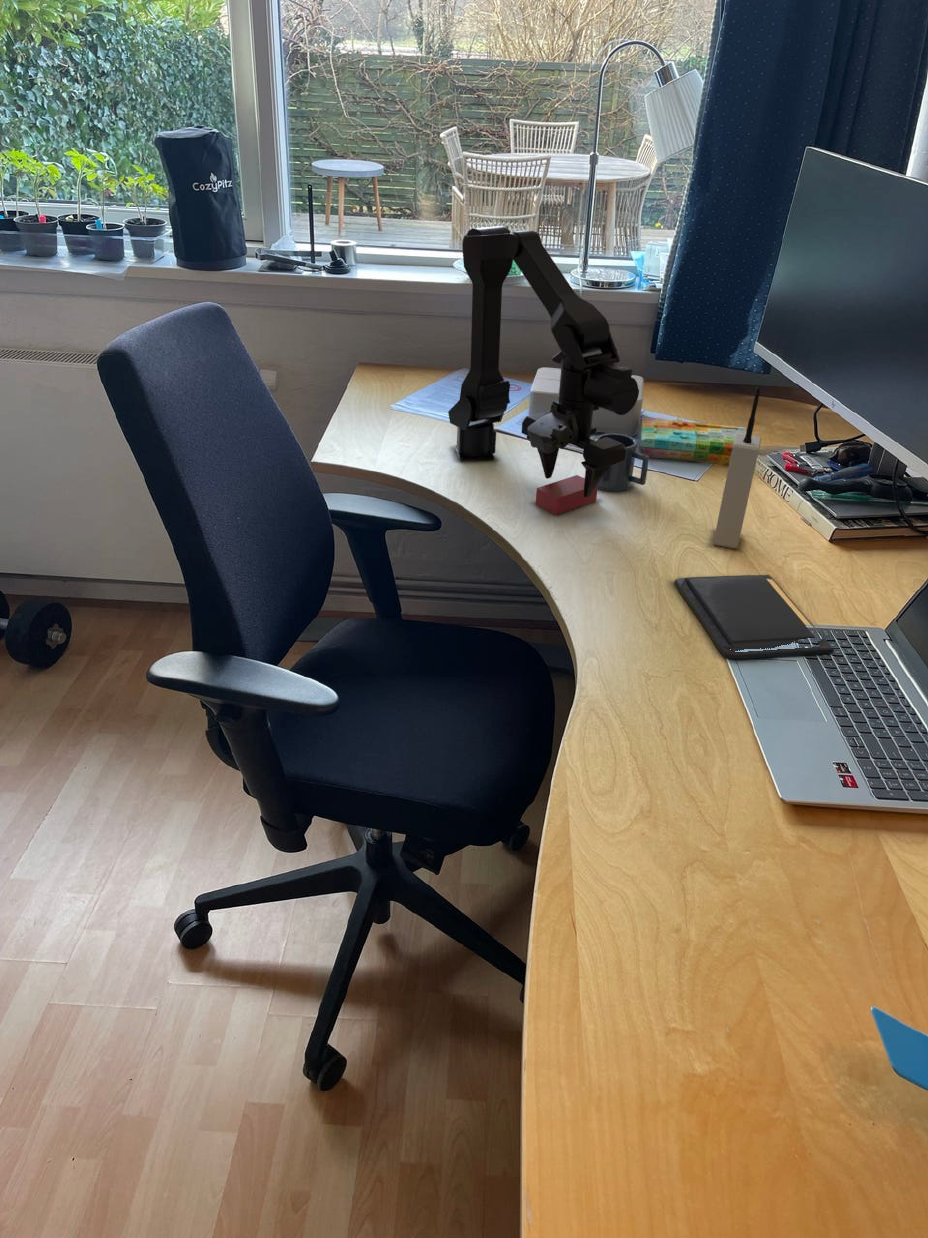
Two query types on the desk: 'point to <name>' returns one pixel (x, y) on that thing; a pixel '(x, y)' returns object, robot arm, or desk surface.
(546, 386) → the projector
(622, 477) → the mug
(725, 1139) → the desk surface
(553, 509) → the red rectangular block
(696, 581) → the wallet
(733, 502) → the vintage mobile phone
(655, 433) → the puzzle game
